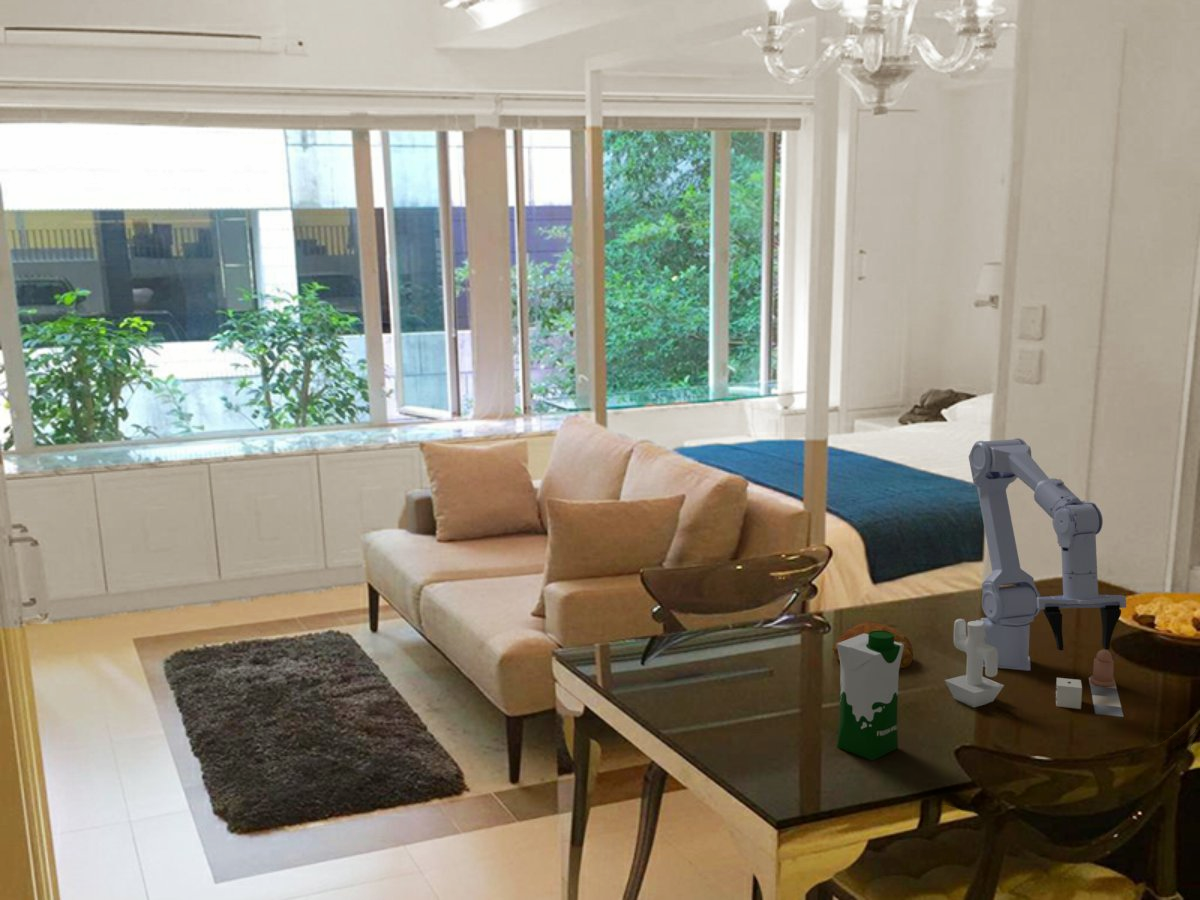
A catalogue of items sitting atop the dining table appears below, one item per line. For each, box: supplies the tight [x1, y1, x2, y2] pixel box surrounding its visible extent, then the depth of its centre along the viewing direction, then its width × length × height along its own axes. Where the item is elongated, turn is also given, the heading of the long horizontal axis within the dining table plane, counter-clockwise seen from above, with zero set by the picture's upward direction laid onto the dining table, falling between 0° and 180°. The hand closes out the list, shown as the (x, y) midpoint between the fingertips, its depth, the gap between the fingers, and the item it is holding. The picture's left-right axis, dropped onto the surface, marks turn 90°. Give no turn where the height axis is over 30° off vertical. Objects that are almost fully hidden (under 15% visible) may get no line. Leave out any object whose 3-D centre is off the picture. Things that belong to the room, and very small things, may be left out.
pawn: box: [1089, 649, 1116, 687], centre depth 217 cm, size 4×4×6 cm
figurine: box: [944, 618, 1005, 708], centre depth 210 cm, size 7×9×15 cm
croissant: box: [831, 621, 914, 669], centre depth 233 cm, size 15×16×8 cm
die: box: [1054, 677, 1083, 710], centre depth 208 cm, size 4×4×4 cm
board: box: [1088, 677, 1124, 718], centre depth 213 cm, size 14×19×1 cm
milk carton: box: [836, 630, 904, 761], centre depth 191 cm, size 9×9×20 cm
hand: (1083, 648), depth 207 cm, fingers open, 7 cm apart
